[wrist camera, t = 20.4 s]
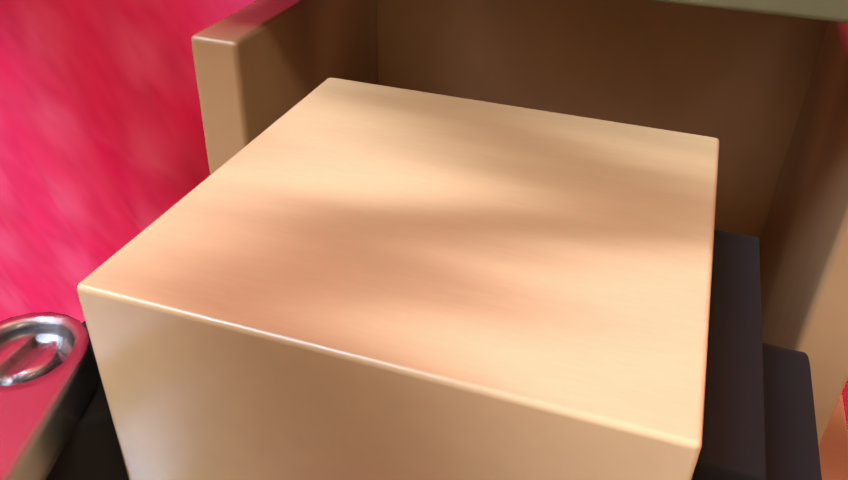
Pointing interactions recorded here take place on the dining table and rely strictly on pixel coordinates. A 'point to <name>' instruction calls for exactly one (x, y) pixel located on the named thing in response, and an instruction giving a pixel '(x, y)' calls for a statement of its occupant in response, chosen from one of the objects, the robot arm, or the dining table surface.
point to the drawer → (602, 107)
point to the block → (418, 300)
